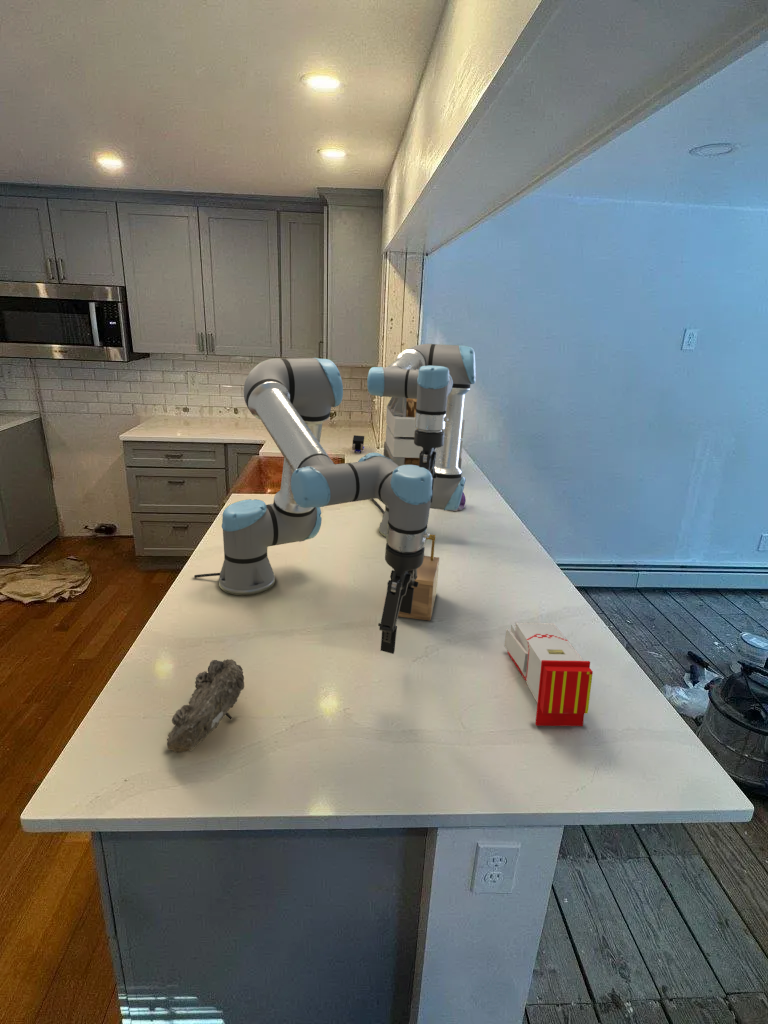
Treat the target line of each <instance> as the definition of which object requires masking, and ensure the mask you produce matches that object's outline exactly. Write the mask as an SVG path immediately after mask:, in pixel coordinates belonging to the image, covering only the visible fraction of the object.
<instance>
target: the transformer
mask: <svg viewBox="0 0 768 1024" xmlns="http://www.w3.org/2000/svg"><path fill="white" fill-rule="evenodd" d="M416 406H417V399H411V398H399V397H390V400H389V402H388V404H387V405H386V413H385V414H386V415H385V423H386V428H385V438H384V442H383V456H385V457H388V458H389V459H391V460H392V461H393V462H394V463H395V464H397V465H398V466H402V465H417V466H419V462H420V459H419V455H420V453H421V451H423V448H422V447H421V446H420V447H419V446H417V445H415V444H414V433H415V430H416V428H415V414H416ZM464 429H465V419H464V418H463V419H462V429H461V439H460V450H459V460H458V468H459V469H460V470H461V471H462V461H463V460H462V453H463V442H464V441H463V440H462V439H463V438H464V431H465V430H464Z"/></svg>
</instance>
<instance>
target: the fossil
mask: <svg viewBox="0 0 768 1024" xmlns="http://www.w3.org/2000/svg"><path fill="white" fill-rule="evenodd" d="M243 670H244V669H243V667H242V665H240V664H237V662H236V661H235V660H234V659H232V658H231V659H227V658H226V659H224V660H223V661H222V660H217V659H212V660H211V661H210V663H209V665H208V666H207V671H201V672H199V673H198V674H197V675H196V676H195V680H194V684H195V685H194V687H195V689H194V690H193V693H192V694H191V697H190V698H189V700H188V704H184V705H182V706H181V707H180V709H177V710H176V711H175V713H174V715H173V716H172V718H171V723H172V724H173V727H172V730H171V731H170V732H168V734H167V738H166V741H167V742H166V745H167V749H168V750H169V751H173V752H174V753H176V754H178V753H182V752H188V751H189V752H192V751H193V750H195V748H196V747H197V746H199V744H200V743H201V742H203V741H204V740H205V739H206V738H207V737H208V736H209V735H210V734H211V733H212V732H214V730H215V729H217V727H218V726H219V724H220V722H221V721H222V720H223V719H224V718H225V716H226V717H227V719H229V720H233V717H232V715H230V714H229V710H230V709H231V708H234V706H235V704H236V703H237V702H238V699H239V697H240V695H241V693H242V691H243V690H245V689H244V688H245V675H244V671H243Z"/></svg>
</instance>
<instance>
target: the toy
mask: <svg viewBox="0 0 768 1024" xmlns="http://www.w3.org/2000/svg"><path fill="white" fill-rule="evenodd" d="M503 645H504V647H505V649H506V650H507V655H508V656H509V658H510V659H511V662H513V664H514V666H515V667H516V669H517V670H518V672H519V673H520V675H521V676H522V679H523V680H524V681H525V683H526V686H527V687H528V689H529V690H530V693H531V694H532V696H533V698H534V700H535V701H536V703H537V704H536V714H535V722H534V723H535V726H537V727H541V726H542V727H583V726H584V719H585V715H586V714H587V715H588V714H589V706H590V705H589V704H590V699H591V691H592V683H593V682H592V681H593V674H594V673H593V672H594V671H593V670H592V669H591V668H590V667H591V661H590V660H584V659H583V658H582V657H581V655H580V654H579V653H578V651H577V650H576V649H575V648H574V647H573V645H572V644H571V643H570V642H569V640H568V639H567V638H566V636H564V633H562V632H561V630H560V629H559V628H558V627H557V625H556V624H555V623H553V622H515V624H511V625H510V628H506V630H505V638H504V644H503Z"/></svg>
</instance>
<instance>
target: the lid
mask: <svg viewBox="0 0 768 1024" xmlns="http://www.w3.org/2000/svg"><path fill="white" fill-rule="evenodd" d="M436 537H437V535H436V534H431V533H429V538H426V540H428V541H429V540H430V541H431V547H430V556H429V555H424V558H423V563H422V565H421V566H420V567H419V568H417V578H416V580H415V579H414V580H415V581H416V582H418V584H423V585H431V586H433V585H434V580H435V576H436V572H437V568H438V569H439V566H438V563H439V564H440V557H438V556H434V555H435V554H434V553H435V544H436V543H435V542H436Z"/></svg>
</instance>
